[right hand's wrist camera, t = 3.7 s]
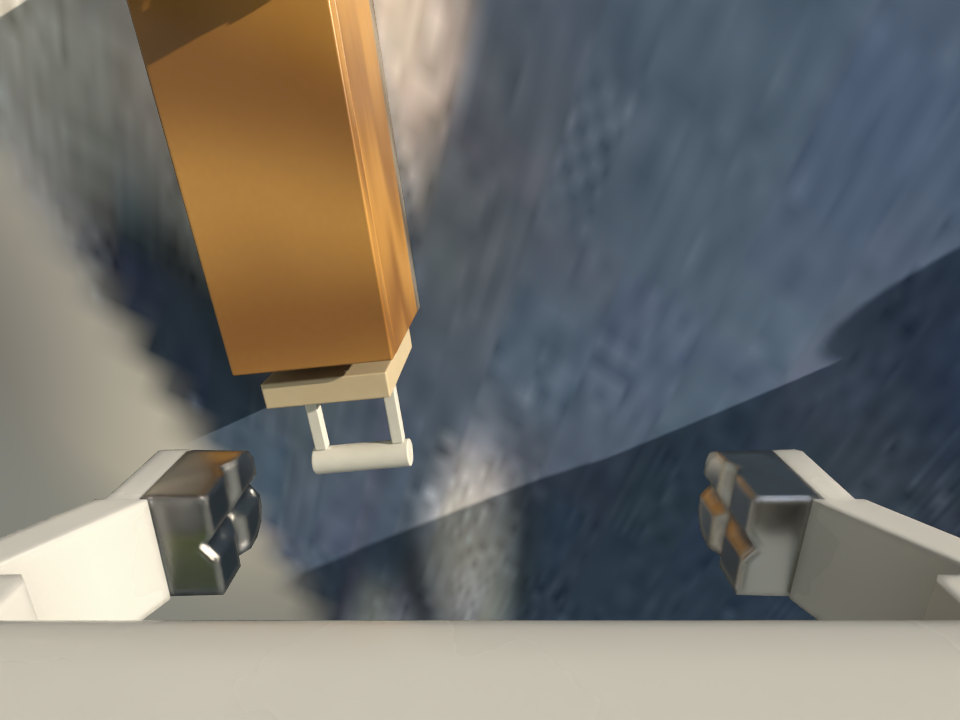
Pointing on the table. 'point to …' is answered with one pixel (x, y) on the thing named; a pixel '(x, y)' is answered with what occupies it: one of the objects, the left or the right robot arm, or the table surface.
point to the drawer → (339, 387)
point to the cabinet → (286, 174)
